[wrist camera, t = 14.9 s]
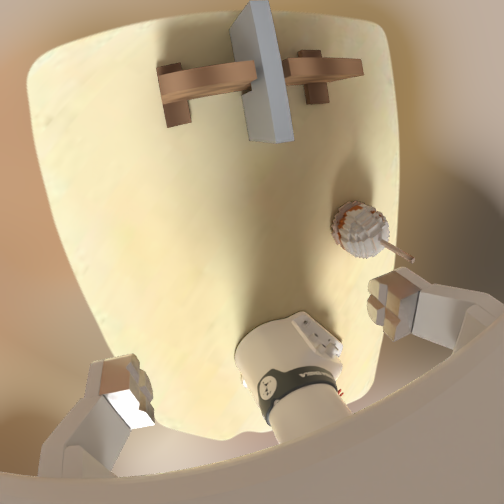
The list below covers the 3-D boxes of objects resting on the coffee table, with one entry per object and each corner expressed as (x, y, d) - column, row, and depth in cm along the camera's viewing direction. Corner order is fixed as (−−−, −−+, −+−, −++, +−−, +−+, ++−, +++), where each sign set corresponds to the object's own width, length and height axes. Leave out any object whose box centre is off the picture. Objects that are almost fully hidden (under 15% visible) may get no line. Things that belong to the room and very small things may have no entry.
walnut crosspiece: (316, 52, 34) (356, 36, 25) (325, 103, 37) (367, 99, 29) (156, 69, 30) (153, 48, 21) (167, 128, 33) (167, 125, 25)
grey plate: (228, 29, 30) (249, 0, 21) (243, 28, 30) (268, 0, 22) (249, 140, 37) (276, 143, 28) (263, 138, 37) (294, 140, 28)
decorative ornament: (374, 229, 48) (435, 264, 35) (340, 254, 48) (397, 299, 35) (359, 191, 44) (427, 219, 31) (322, 217, 44) (384, 256, 31)
